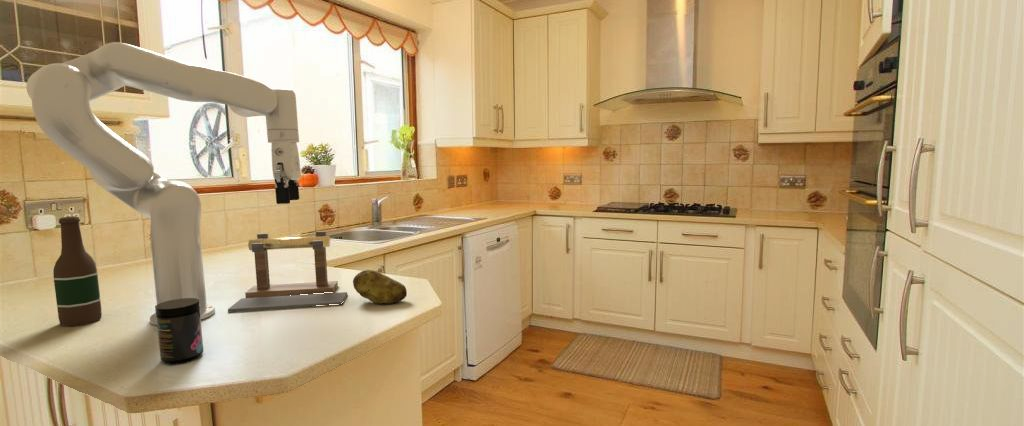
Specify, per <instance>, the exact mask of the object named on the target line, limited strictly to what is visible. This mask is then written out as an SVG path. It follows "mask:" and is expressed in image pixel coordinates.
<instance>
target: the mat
mask: <svg viewBox="0 0 1024 426" xmlns="http://www.w3.org/2000/svg"><path fill="white" fill-rule="evenodd" d="M346 295H347V296H348V291H345V292H343V291H342V292H334V293H324V294H308V295H291V296H275V297H258V298H246V297H243V298H240V299H238V301H236V302H235V303H234V304H233V305H231V306H230V307H229V308H227V312H228V313H238V312H237V311H243V312H255V310H259V311H269V309H274V310H284V309H283V308H289V309H296V308H295V307H305V308H308V307H307V306H316V305H329V304H341V303H342V302H343V301H344V299H345V297H346ZM346 298H347V297H346ZM345 300H346V299H345ZM344 302H345V301H344ZM344 302H343V303H344Z"/></svg>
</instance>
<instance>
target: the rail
mask: <svg viewBox="0 0 1024 426" xmlns="http://www.w3.org/2000/svg"><path fill="white" fill-rule="evenodd" d="M319 240H323V247H326V248H330V247H331V237H330V235H326V236H317V237H316V236H297V237H295V236H294V237H293V236H292V237H277V238H276V237H274V238H271V237H270V238H269V237H268V239H257V238H250V239H249V240H248V242H247V243H248V245H247V246H248V251H250V252H252V243H263V250H267V251H268V250H269V251H270V250H271V251H272V250H291V249H292V250H293V249H294V250H295V249H310V248H311V249H313V246H312V241H319Z"/></svg>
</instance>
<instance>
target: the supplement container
mask: <svg viewBox="0 0 1024 426" xmlns="http://www.w3.org/2000/svg"><path fill="white" fill-rule="evenodd" d="M154 311H155V312H154V313H156V319H157V325H156V327H157V337H158V347H159V349H158V350H159V357H160V361H161V362H162V363H163V364H165V365H182V364H187V363H189V362H193V361H195V360H197V359H198V358H200V357H202V355H203V354H204V342H203V331H202V330H203V329H202V319H201V317H200V304H199V299H196V298H182V299H175V300H170V301H166V302H162V303H159V304H157V303H156V305H155V306H154ZM181 363H182V364H181Z"/></svg>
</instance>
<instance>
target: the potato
mask: <svg viewBox="0 0 1024 426" xmlns="http://www.w3.org/2000/svg"><path fill="white" fill-rule="evenodd" d="M352 285H353V289H354V290H355V291H356V292H357V294H359V295H360V296H361V297H362V298H363V299H367V300H369V301H370V302H372V303H374V304H377V303H381V304H380V305H383V304H382V303H391V304H395V303H394V302H396V303H400V302H402V301H403V300H405V298H406V297H407V288H406V286H405V285H404V284H403V283H401V282H400V281H397V280H395V279H393V278H391V277H389V276H387V275H385V274H383V273H381V272H379V271H377V270H372V269H371V270H370V269H367V270H362V271H360V272H359V273H357V274H355V276H354V277H353V279H352ZM399 301H400V302H399Z"/></svg>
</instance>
